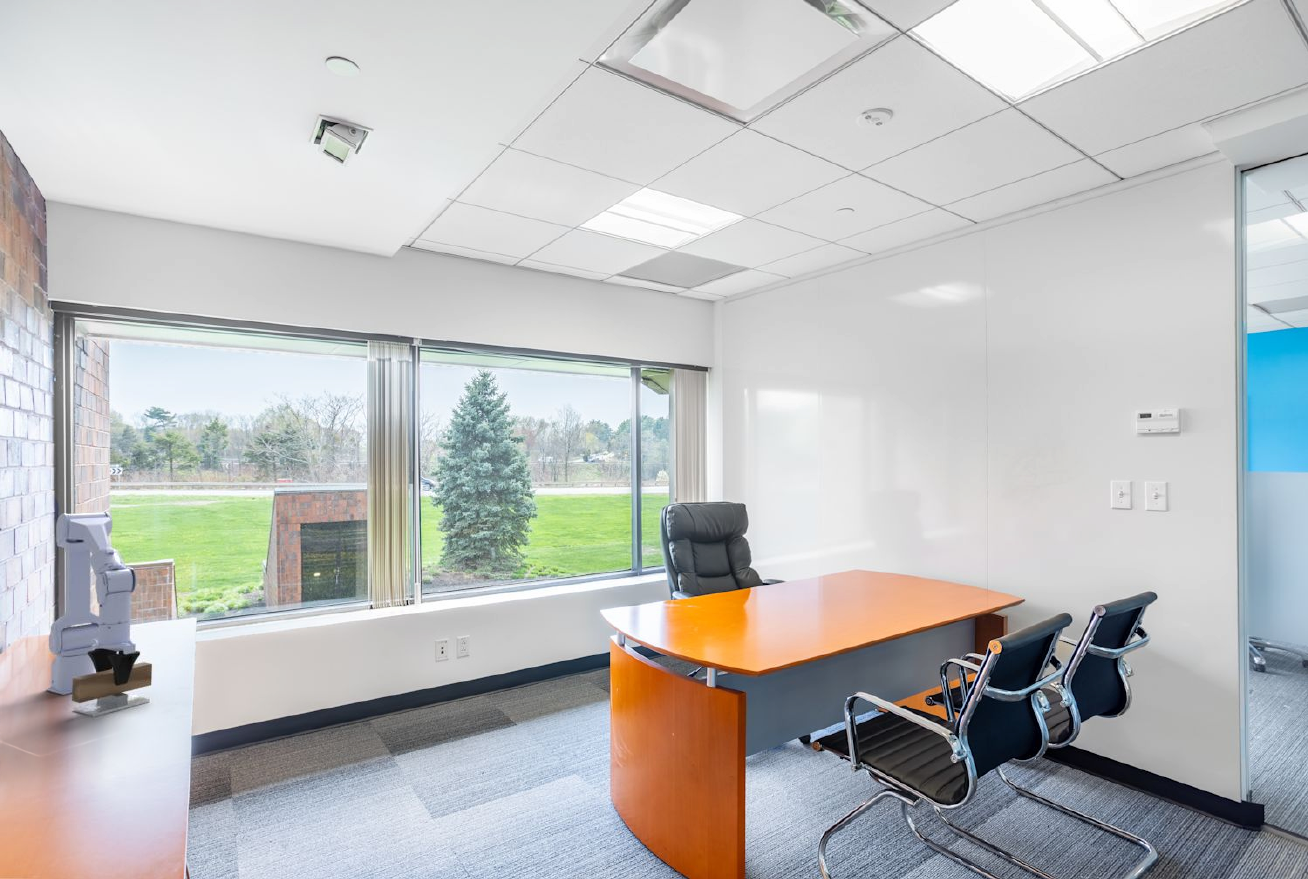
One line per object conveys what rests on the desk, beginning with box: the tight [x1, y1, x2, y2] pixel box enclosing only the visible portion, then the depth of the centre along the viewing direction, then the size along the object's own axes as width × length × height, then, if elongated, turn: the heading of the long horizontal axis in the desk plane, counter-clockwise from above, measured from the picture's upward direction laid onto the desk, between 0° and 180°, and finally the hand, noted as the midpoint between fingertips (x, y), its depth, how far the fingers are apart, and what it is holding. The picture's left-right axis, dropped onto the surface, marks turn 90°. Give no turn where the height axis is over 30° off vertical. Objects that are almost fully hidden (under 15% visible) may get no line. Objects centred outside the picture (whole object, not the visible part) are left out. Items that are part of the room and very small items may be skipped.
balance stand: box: [72, 692, 151, 718], centre depth 155 cm, size 9×11×3 cm
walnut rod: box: [71, 661, 153, 704], centre depth 155 cm, size 4×14×5 cm, turn 153°
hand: (112, 682), depth 155 cm, fingers open, 7 cm apart
